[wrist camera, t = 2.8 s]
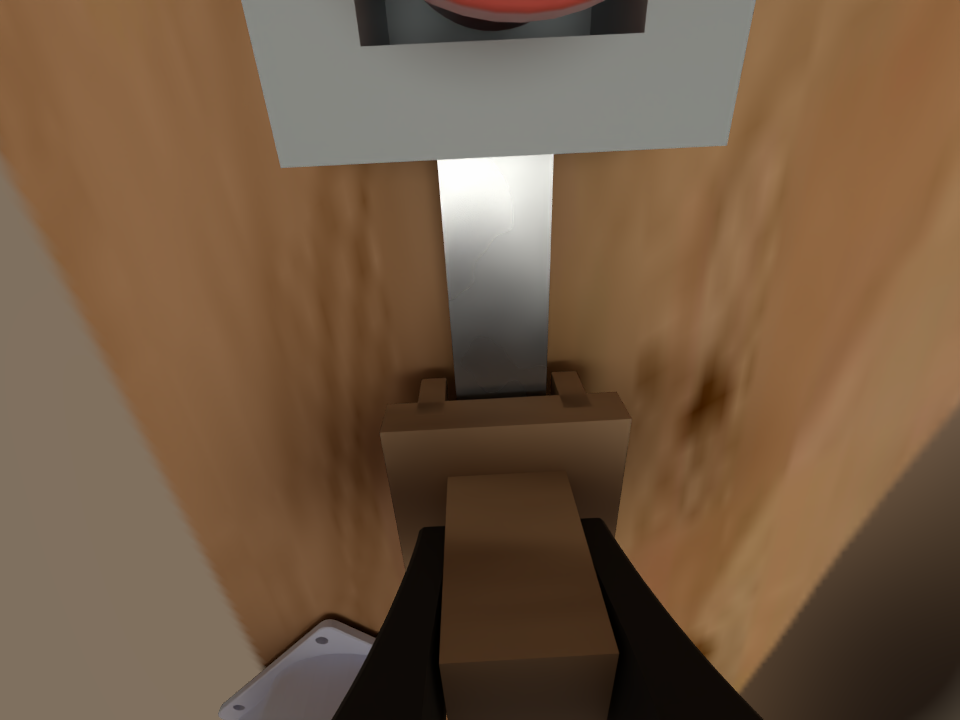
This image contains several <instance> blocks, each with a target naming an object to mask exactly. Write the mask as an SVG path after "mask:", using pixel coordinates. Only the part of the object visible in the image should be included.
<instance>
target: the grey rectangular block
mask: <svg viewBox="0 0 960 720" xmlns="http://www.w3.org/2000/svg"><path fill="white" fill-rule="evenodd" d="M241 1H242V5H243V9H244V14H245V18H246V22H247V26H248V31H249V35H250V39H251V43H252V48H253V52H254V56H255V60H256V65H257V69H258V73H259V77H260V81H261V86H262V90H263V94H264V98H265V103H266V107H267V111H268V115H269V120H270V124H271V128H272V132H273V137H274V141H275V145H276V149H277V153H278V158H279V162H280V166H281V168H287V167H306V166H326V165H346V164H366V163H386V162H406V161H426V160H446V159H466V158H486V157H506V156H526V155H546V154H565V153H585V152H605V151H625V150H645V149H665V148H685V147H705V146H725V145H727V142H728V137H729V132H730V127H731V122H732V117H733V112H734V107H735V102H736V97H737V92H738V87H739V81H740V76H741V71H742V66H743V61H744V56H745V51H746V46H747V41H748V36H749V31H750V26H751V21H752V16H753V11H754V6H755V1H756V0H605V1H603V2H600V3H598V4H596V5H594V6H592V7H590V8H587V9H585V10H582V11H579V12H575V13H572V14H568V15H565V16H562V17H558V18H555V19H547V20H540V21H532V22H529V23H527V24H525V25H523V26H519V27H516V28H512V29H509V30H501V31H481V30H476V29H471V28H467V27H465V26H462V25H459V24H457V23H455V22H453V21H451V20H449V19H447V18H445V17H444V16H442V15H441V14H439V13H438V12H437V11H435V10H434V9H433V8H431V7H430V6H429V5H428V4H427V3H426V2H425V1H424V0H241Z"/></svg>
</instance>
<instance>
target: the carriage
mask: <svg viewBox="0 0 960 720" xmlns="http://www.w3.org/2000/svg"><path fill="white" fill-rule="evenodd" d="M631 421H632V418H631V417H630V415H629V413H628V411H627V409H626V408H625V406H624V404H623V402H622V401H621V399H620V397H619V395H618V394H617V392H605V393H587V394H586V392H585V390H584V388H583V386H582V383H581V381H580V379H579V377H578V374H577V372H576V371H563V372H551V395H550V396H531V397H513V398H494V399H476V400H457V401H448V391H447V380H446V378H433V379H422V381H421V387H420V393H419V399H418V403H401V404H387V407H386V410H385V414H384V418H383V422H382V425H381V429H380V438H381V444H382V449H383V454H384V459H385V465H386V470H387V475H388V481H389V486H390V491H391V497H392V502H393V507H394V513H395V518H396V523H397V529H398V534H399V539H400V544H401V550H402V555H403V560H404V566H405V571H406V570H407V567H408V565H409V562H410V559H411V556H412V553H413V550H414V547H415V544H416V541H417V537H418V534H419V530H421V529H422V528H423V527H433V526H445V546H444V567H443V589H442V611H441V632H440V654H439V667H440V673H441V680H442V686H443V692H444V699H445V705H446V711H447V718H448V720H607V717H608V711H609V706H610V700H611V695H612V690H613V684H614V679H615V673H616V668H617V663H618V657H619V651H618V648H617V644H616V641H615V637H614V634H613V631H612V627H611V624H610V620H609V617H608V613H607V610H606V606H605V603H604V600H603V596H602V593H601V589H600V586H599V582H598V579H597V576H596V572H595V569H594V565H593V562H592V558H591V555H590V552H589V548H588V545H587V541H586V538H585V534H584V531H583V527H582V524H581V521H580V519H581V518H601V519H602V520H603V521H604V522H605V524H606V525H607V527H608V529H609V530H610V532H611V533H612V535H613V537H614V538H615V532H616V525H617V518H618V511H619V504H620V497H621V490H622V483H623V476H624V469H625V463H626V456H627V449H628V442H629V435H630V428H631Z"/></svg>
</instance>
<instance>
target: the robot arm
mask: <svg viewBox="0 0 960 720" xmlns="http://www.w3.org/2000/svg"><path fill="white" fill-rule="evenodd" d="M580 521H581V524H582V527H583V531H584V534H585V538H586V541H587V545H588V548H589V552H590V555H591V558H592V562H593V565H594V569H595V572H596V576H597V579H598V582H599V586H600V589H601V593H602V596H603V600H604V603H605V606H606V610H607V613H608V617H609V620H610V624H611V627H612V631H613V634H614V637H615V641H616V644H617V648H618V651H619V657H618V663H617V668H616V673H615V679H614V684H613V690H612V695H611V700H610V706H609V711H608V717H607V720H763V719H762V717H760V715H759V714H757V712H756V711H755V710H754V709H753V708H752V707H751V706H750V705H749V704H748V703H747V702H746V701H745V700H744V699H743V698H742V697H741V696H740V695H739V694H738V693H737V692H736V691H735V689H734V688H733V687H732V686H731V685H730V684H729V683H728V682H727V681H726V680H725V679H724V678H723V676H722V675H721V674H720V673H719V672H718V671H717V670H716V669H715V668H714V667H713V665H712V664H711V663H710V662H709V661H708V660H707V659H706V658H705V656H704V655H703V654H702V653H701V652H700V651H699V649H698V648H697V647H696V646H695V645H694V644H693V642H692V641H691V640H690V639H689V638H688V636H687V635H686V634H685V633H684V632H683V630H682V629H681V628H680V627H679V626H678V624H677V623H676V622H675V621H674V619H673V618H672V617H671V616H670V614H669V613H668V612H667V611H666V609H665V608H664V607H663V605H662V604H661V603H660V601H659V600H658V599H657V598H656V596H655V595H654V594H653V592H652V591H651V590H650V588H649V587H648V586H647V584H646V583H645V582H644V580H643V579H642V578H641V576H640V575H639V573H638V572H637V571H636V569H635V568H634V566H633V565H632V563H631V562H630V561H629V559H628V558H627V556H626V555H625V553H624V552H623V550H622V549H621V547H620V546H619V544H618V543H617V541H616V540H615V538H614V537H613V535H612V533H611V532H610V530H609V529H608V527H607V525H606V524H605V522H604V521H603V520H602V519H601V518H581V519H580ZM444 546H445V526H433V527H423V528H422V529H421V530H419V534H418V537H417V541H416V544H415V547H414V550H413V553H412V556H411V559H410V562H409V565H408V567H407V570H406V572H405V575H404V578H403V580H402V583H401V585H400V587H399V590H398V592H397V594H396V596H395V599H394V601H393V603H392V606H391V608H390V610H389V612H388V615H387V617H386V619H385V621H384V623H383V625H382V627H381V629H380V631H379V633H378V635H377V637H376V638H374V637H372V636H370V635H368V634H366V633H363V632H361V631H359V630H357V629H355V628H352V627H350V626H348V625H346V624H344V623H341V622H339V621H337V620H333V619H327V620H324V621H322V622H320V623H319V624H318V625H317V626H316V627H314V628H313V629H312V630H311V631H310V632H308V633H307V634H306V635H305V636H304V637H302V638H301V639H300V640H299V641H298V642H296V643H295V644H294V645H293V646H292V647H290V648H289V649H288V650H287V651H286V652H284V653H283V654H282V655H281V656H280V657H278V658H277V659H276V660H275V661H274V662H272V663H271V664H270V665H269V666H268V667H266V668H265V669H264V670H263V671H262V672H260V673H259V674H258V675H257V676H256V677H255V678H253V679H252V680H251V681H250V682H249V683H247V684H246V685H245V686H244V687H243V688H241V689H240V690H239V691H238V692H237V693H235V694H234V695H233V696H232V697H231V698H229V699H228V700H227V701H226V702H225V703H223V704H222V706H221V708H220V710H219V713H218V714H219V717H220V718H221V719H223V720H446V713H447V711H446V705H445V699H444V692H443V686H442V680H441V673H440V667H439V654H440V632H441V611H442V589H443V567H444Z"/></svg>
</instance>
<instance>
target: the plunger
mask: <svg viewBox="0 0 960 720" xmlns="http://www.w3.org/2000/svg"><path fill="white" fill-rule="evenodd" d="M424 1H425V2H426V3H427V4H428V5H429V6H430V7H431V8H433V9H434V10H435V11H437V12H438V13H439V14H441V15H442V16H444V17H445V18H447V19H449V20H451V21H453V22H455V23H457V24H459V25H462V26H465V27H467V28H471V29H476V30H481V31H501V30H509V29H512V28H516V27H519V26H523V25H525V24H527V23H529V22H532V21H540V20H547V19H555V18H558V17H562V16H565V15H568V14H572V13H575V12H579V11H582V10H585V9H587V8H590V7H592V6H594V5H596V4H598V3H600V2H603V1H605V0H424Z"/></svg>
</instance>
